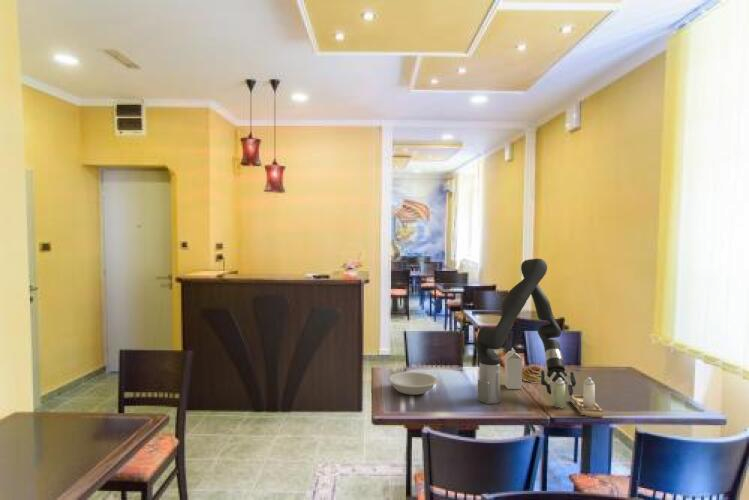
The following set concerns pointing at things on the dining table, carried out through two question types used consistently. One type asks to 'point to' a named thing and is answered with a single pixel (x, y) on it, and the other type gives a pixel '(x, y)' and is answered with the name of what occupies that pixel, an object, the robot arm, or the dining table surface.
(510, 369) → the milk carton
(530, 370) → the pastry
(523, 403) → the dining table surface
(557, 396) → the pepper mill
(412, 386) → the soup bowl
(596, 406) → the condiment stand
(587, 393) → the salt mill
